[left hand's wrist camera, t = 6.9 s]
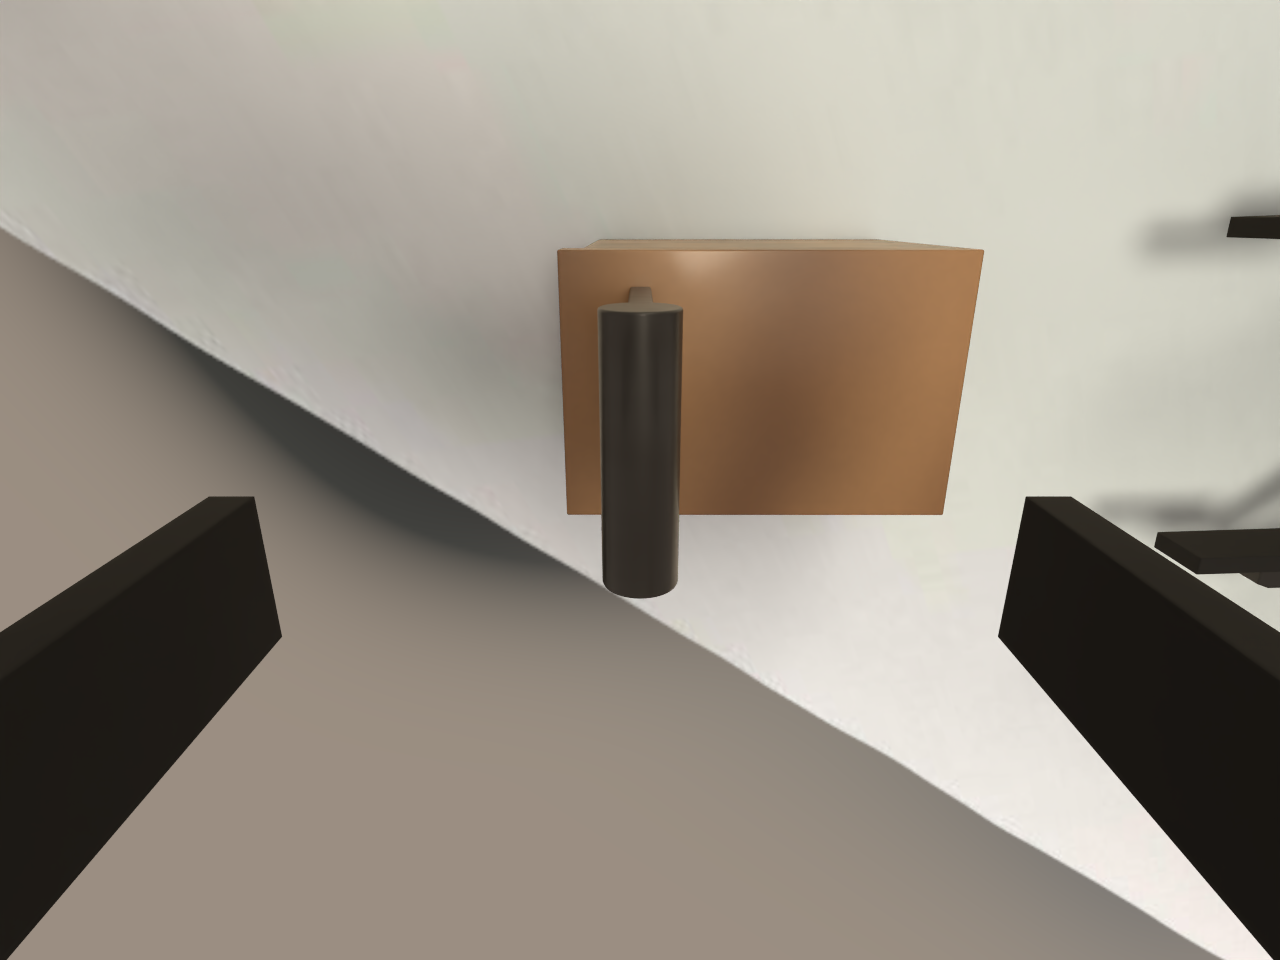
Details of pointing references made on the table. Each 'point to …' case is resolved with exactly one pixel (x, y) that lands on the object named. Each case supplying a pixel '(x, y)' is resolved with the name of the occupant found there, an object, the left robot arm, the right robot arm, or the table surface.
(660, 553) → the lid
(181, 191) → the table surface
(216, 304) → the table surface
